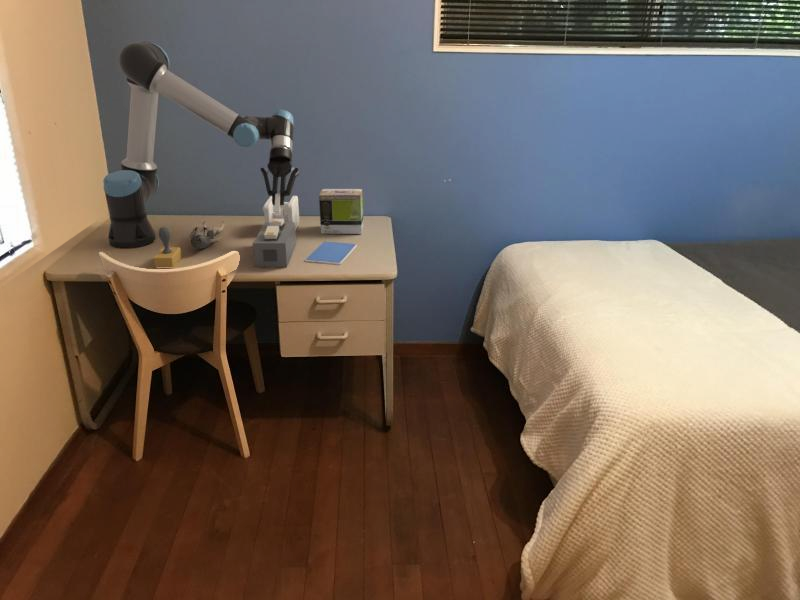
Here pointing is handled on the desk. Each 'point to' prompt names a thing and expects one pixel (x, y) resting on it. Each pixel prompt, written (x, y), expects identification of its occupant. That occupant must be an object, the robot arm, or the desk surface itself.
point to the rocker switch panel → (275, 246)
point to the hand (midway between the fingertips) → (277, 213)
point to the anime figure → (204, 235)
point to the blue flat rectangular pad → (331, 253)
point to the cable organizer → (283, 211)
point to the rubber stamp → (167, 251)
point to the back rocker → (276, 222)
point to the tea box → (341, 211)
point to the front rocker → (271, 232)
